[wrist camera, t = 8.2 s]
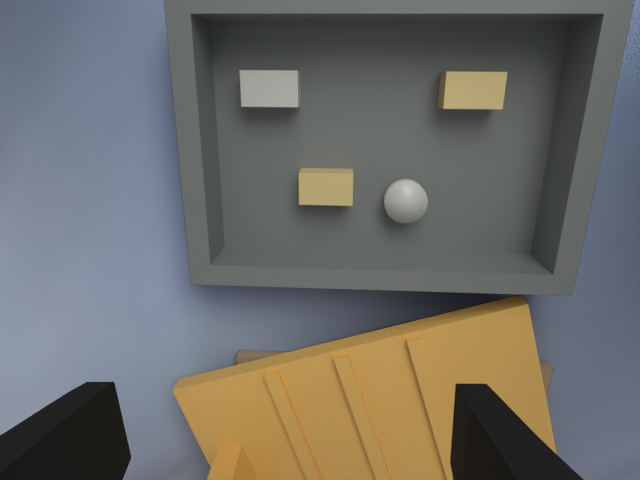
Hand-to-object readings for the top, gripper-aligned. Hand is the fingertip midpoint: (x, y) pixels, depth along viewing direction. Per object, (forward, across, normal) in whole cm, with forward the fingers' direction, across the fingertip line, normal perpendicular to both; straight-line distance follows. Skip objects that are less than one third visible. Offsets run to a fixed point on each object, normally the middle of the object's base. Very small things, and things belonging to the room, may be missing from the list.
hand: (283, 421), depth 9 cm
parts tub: (+10, -3, -4) cm, 11 cm away
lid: (+10, -2, +9) cm, 13 cm away
